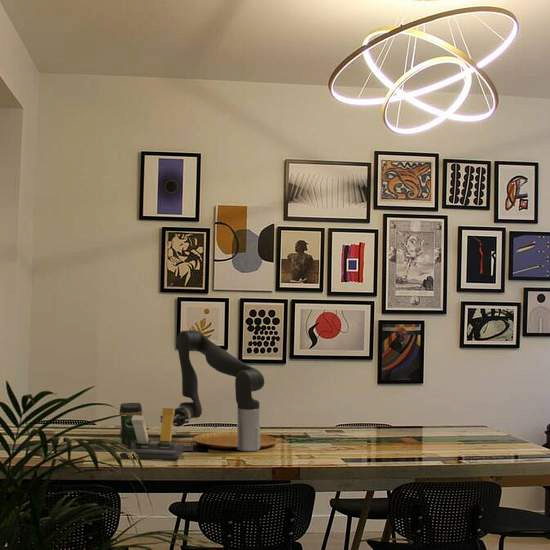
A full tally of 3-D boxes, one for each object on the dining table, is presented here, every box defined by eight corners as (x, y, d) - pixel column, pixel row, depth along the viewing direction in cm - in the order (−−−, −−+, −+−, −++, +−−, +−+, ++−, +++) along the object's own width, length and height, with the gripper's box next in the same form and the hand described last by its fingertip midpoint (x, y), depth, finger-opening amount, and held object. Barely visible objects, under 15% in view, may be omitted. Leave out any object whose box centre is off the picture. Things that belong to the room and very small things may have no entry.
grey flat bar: (179, 459, 305) (179, 450, 305) (178, 461, 303) (178, 451, 303) (120, 457, 308) (120, 448, 308) (118, 458, 306) (118, 449, 306)
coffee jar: (141, 444, 334) (141, 401, 334) (142, 448, 326) (143, 403, 327) (118, 445, 332) (119, 401, 332) (119, 449, 324) (119, 404, 324)
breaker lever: (171, 447, 314) (174, 409, 319) (169, 446, 311) (173, 408, 317) (160, 447, 315) (164, 409, 320) (158, 446, 312) (162, 408, 318)
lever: (150, 442, 316) (143, 415, 308) (148, 447, 314) (142, 420, 305) (139, 442, 317) (133, 415, 308) (138, 447, 315) (131, 419, 306)
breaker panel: (183, 452, 318) (183, 440, 318) (175, 458, 307) (175, 446, 307) (136, 450, 321) (136, 438, 321) (126, 456, 310) (127, 444, 310)
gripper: (165, 406, 336) (153, 413, 319) (195, 407, 334) (184, 414, 317) (165, 424, 336) (153, 431, 319) (194, 425, 334) (184, 432, 317)
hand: (168, 423), depth 318 cm, fingers closed
